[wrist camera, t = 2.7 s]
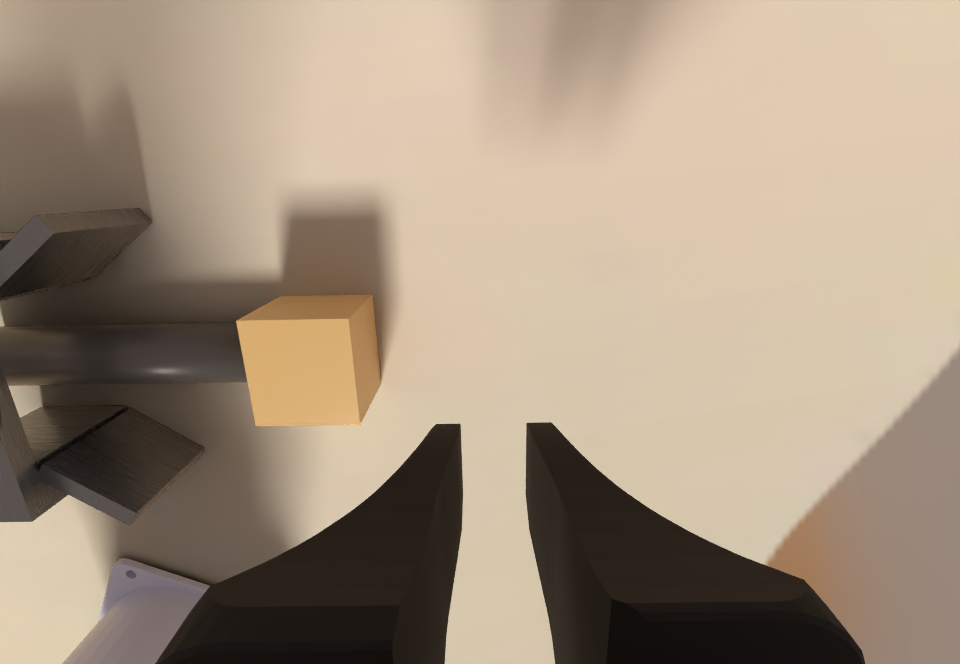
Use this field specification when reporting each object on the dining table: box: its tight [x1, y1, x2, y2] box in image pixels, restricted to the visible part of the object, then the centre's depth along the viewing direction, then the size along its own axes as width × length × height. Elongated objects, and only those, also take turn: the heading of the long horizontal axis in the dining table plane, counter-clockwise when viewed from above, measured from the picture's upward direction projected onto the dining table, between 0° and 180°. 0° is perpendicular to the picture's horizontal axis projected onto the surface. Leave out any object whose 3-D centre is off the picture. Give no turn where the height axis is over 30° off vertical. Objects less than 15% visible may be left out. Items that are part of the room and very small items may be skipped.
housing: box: [0, 208, 204, 525], centre depth 18 cm, size 8×12×6 cm, turn 1°
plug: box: [0, 294, 381, 426], centre depth 19 cm, size 16×4×4 cm, turn 91°
